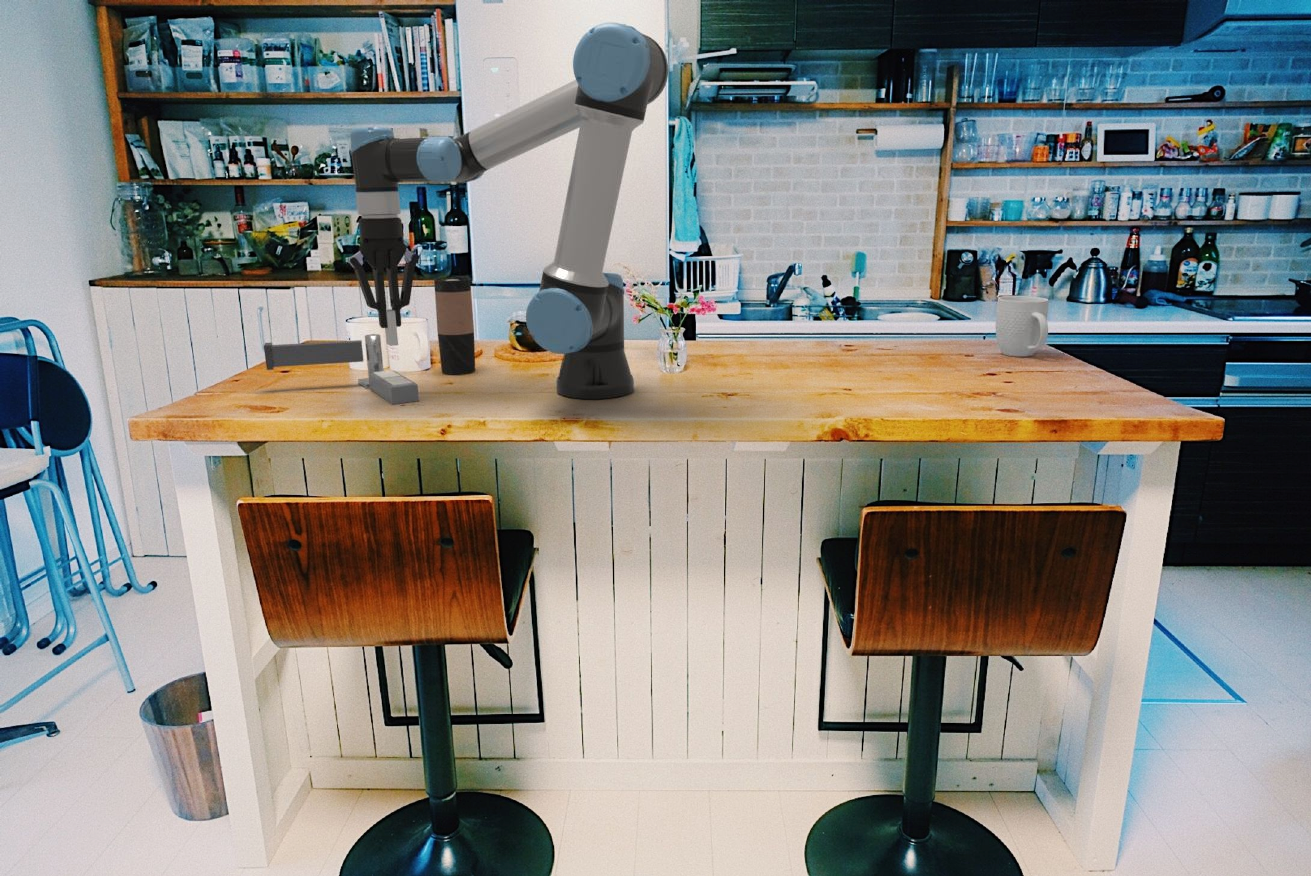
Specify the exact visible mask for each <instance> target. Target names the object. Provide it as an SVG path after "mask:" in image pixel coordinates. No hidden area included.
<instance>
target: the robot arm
mask: <svg viewBox="0 0 1311 876" xmlns="http://www.w3.org/2000/svg"><path fill="white" fill-rule="evenodd" d="M572 68H573V74H574V77H575V80H572V81H570V82H568V83H566V84H564V85H562V86H559V87H558V88H555V89H553V90H552V91H549V92H548V93H545V94H543V95H542V96H540V97H538V98H536V99H533V100H531V101H530V102H528V103H525V104H523V105H521V106H519V107H517V108H515V109H513V110H511V111H509V112H507V113H505V114H502V115H501V116H499V117H497V118H494V119H492V120H491V121H488V122H487V123H484V124H482V125H480V126H478V127H476V128H474V129H472V130H470V131H468V132H466V133H464V134H462V135H460V136H458V137H456V138H453V139H452V138H450V137H446V136H445V137H443V136H442V137H441V136H428V137H427V136H426V137H410V138H397V137H395V135H394V132H393V129H392V128H390V127H387V126H386V127H385V126H370V127H369V126H363V127H361V126H358V127H355V128H353V129H351V131H350V136H349V137H350V157H351V161H352V162H351V163H352V170H353V177H354V185H355V197H356V208H357V215H359V216H361V218H359V220H358V228H359V238H360V244H359V247H358V252H356V253H355V254H353V255H352V256H348V257H347V262H348V264H349V265H350V266H351V268H353V270H354V273H355V276H356V278H357V281H358V284H359V287H360V290H361V292H362V295H363V298H364V300H365V304H366V305H367V307H368V308H371V309H373V310H376V311H377V315H378V323H379V324H378V325H379V327H380V329H384V331H385V332H384V333H385V340H386V341H385V342H386V345H388V346H390V347H392V346H393V347H395V346H399V337H398V329H397V327H402V316H401V315H402V313H401V310H402V308H404V307H407V306H409V305H410V304H411V296H412V295H411V294H412V287H413V283H414V281H413V280H414V276H415V267H416V265H417V263H418V261H419V260H420V255H419V254H418V253H414V252H412V251H410V250H409V249H408V247H407V245H406V244H405V241H404V233H403V224H402V223H403V222H402V219H401V218H400V217H399V216H398V215H401V213H402V212H401V202H400V193H399V183H435V184H437V183H445V182H448V183H449V182H451V183H456V182H457V183H470V182H473V181H476V180H478V179H481V177H482V176H483V175H484V174H485V172H486V171H489V170H491V169H492V168H494V167H496V166H498V165H499V166H500V165H501V164H503V163H505V162H508V161H510V160H511V159H512V160H513V159H514V158H516V157H518V156H520V155H523V154H525V153H527V152H529V151H531V150H534V149H536V148H538V147H540V146H542V145H544V144H547V143H549V142H551V141H553V140H555V139H557V138H560V137H562V136H564V135H566V134H568V133H571V132H573V131H574V130H578V129H579V130H578V136H577V138H576V139H577V140H576V145H575V151H574V156H573V161H572V166H571V171H570V177H569V182H568V187H567V193H566V198H565V202H564V208H563V212H562V219H561V221H560V222H561V223H560V228H559V234H558V239H557V245H556V250H555V255H554V259H553V261H552V262H551V263H550V264H548V265H546V266H545V267H544V268H543V270H542V276H541V280H540V286H539V290H538V292H537V293H536V294H534V295H533V296H532V298H531V300H530V301H529V303H528V305H527V307H526V314H525V322H526V327H527V329H528V333H529V334H530V336H531V337H532V339H533V340H534V341H535V343H536V344H538V345H539V347H541V348H543V349H544V350H546V351H548V352H549V353H553V354H558V355H563V357H562V361H561V365H560V368H559V374H558V376H557V378H556V393H557V394H558V395H561V396H563V397H567V398H574V399H584V400H597V399H598V400H599V399H600V400H601V399H602V400H603V399H612V398H618V397H623V396H627V395H630V394H631V393H633V392H634V390H635V387H634V386H635V385H634V384H635V382H634V377H633V374H631V370H630V365H629V363H628V359H627V355H626V353H625V311H624V310H625V306H624V305H625V304H624V303H625V301H624V300H625V299H624V295H625V289H624V281H623V278H622V276H621V275H620V274H618V273H616V272H615V273H614V272H604V266H605V262H606V256H607V251H608V246H609V243H610V238H611V233H612V227H613V224H614V220H615V219H614V218H615V214H616V210H617V205H618V199H619V195H620V190H621V186H622V182H623V176H624V171H625V168H626V167H625V166H626V162H627V158H628V153H629V148H630V143H631V139H632V138H631V137H632V134H633V133H632V132H633V131H634V130H635V129H636V128H638V127H639V126H641V125H642V124H644V121H645V116H646V112H647V107H648V105H649V104H651V103H652V102H654V101H656V99H657V98H659V96H660V95H661V94H662V93H663V91H664V89H665V87H666V84H667V82H668V77H669V64H668V59H667V56H666V54H665V51H664V50H663V48H662V47H661V46H660V45H659V43H658V42H657V41H656V40H655V39H653V38H651V37H650V36H648V35H646V34H644V33H642V32H641V31H639V30H638V29H636V27H634V26H631V25H627V24H626V23H619V22H604V23H601V24H597V25H595V26H594V27H592V28H590V29H589V30H588V31H587V32H585V33H584V34H583V36H582V37H581V38H580V39H579V42H578V43H577V45H576V48H575V50H574V54H573V59H572ZM403 257H404V259H403ZM363 259H365V261H366V262H367V263H368V264H369V265H370V266H371V269H372V274H373V281H374V282H373V284H374V293H375V296H374V294H373V291H372V288H371V285H370V281H369V279H368V277H367V275H366V270H365V268H364V267H363V264H364V261H363ZM402 259H403V260H404V262H405V264H404V268H403V277H402V284H401V290H400V289H399V287H400V286H399V279H398V278H399V277H398V270H399V269H398V265H400V262H401V261H402ZM385 269H386V274H387V281H388V284H387V285H388V292H389V302H390V308H391V309H390V308H388V307H387V298H386V288H385V278H384V274H385V271H384V270H385ZM387 308H388V309H387Z"/></svg>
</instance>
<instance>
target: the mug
mask: <svg viewBox="0 0 1311 876" xmlns="http://www.w3.org/2000/svg"><path fill="white" fill-rule="evenodd" d="M1048 311H1049V299H1048V298H1044V297H1039V296H1030V295H1002V296H999V297H997V303H996V312H995V335H996V343H997V346H998V348H999V350H1000V352H1001V354H1002V355H1004V356H1008V357H1015V358H1016V357H1017V358H1021V357H1022V358H1027V357H1032V356H1033V355H1034V354H1035V353H1036V351H1038V350H1041V349H1042V348H1043V347H1044V346H1045V345H1046V344H1047V340H1048V338H1049V337H1048V336H1049V326H1048V325H1049V324H1048V321H1047V320H1048Z"/></svg>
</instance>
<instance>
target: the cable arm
mask: <svg viewBox="0 0 1311 876" xmlns="http://www.w3.org/2000/svg"><path fill="white" fill-rule="evenodd" d="M263 351H264V358H265V365H266V367H265V368H266V370H267V371H272V370H273V371H274V370H275V368H279V367H281V368H282V367H296V366H297V367H298V366H311V365H312V366H313V365H326V364H327V365H328V364H329V365H330V364H345V363H358V362H359V363H361V362H364V354H363V353H364V352H363V351H364V350H363V343H362V340H360V339H359V340H343V341H342V340H339V341H324V342H307V343H305V342H304V343H287V344H286V343H285V344H284V343H283V344H273V343H272V342H265V343H264V344H263Z"/></svg>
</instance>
